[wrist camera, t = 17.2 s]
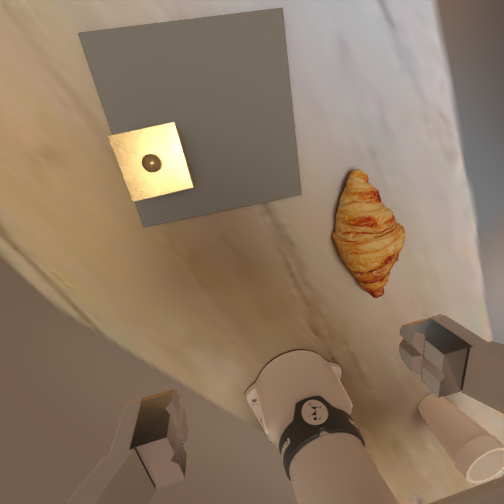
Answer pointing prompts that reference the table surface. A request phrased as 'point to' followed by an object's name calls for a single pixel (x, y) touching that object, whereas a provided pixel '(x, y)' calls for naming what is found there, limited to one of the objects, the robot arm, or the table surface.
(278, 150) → the charcoal mat
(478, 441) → the foam cup
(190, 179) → the brass knob block
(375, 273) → the croissant
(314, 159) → the table surface
